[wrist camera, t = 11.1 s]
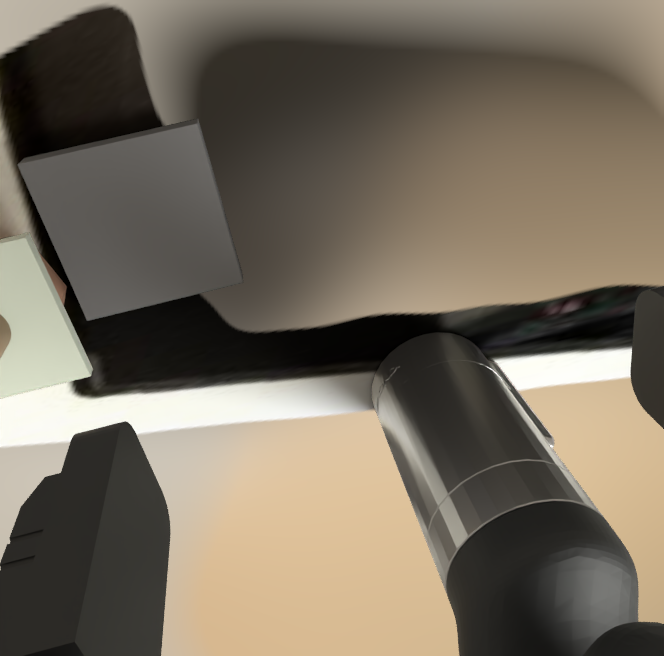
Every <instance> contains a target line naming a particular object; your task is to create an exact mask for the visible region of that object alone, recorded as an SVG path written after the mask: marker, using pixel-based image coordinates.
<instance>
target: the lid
mask: <svg viewBox="0 0 664 656" xmlns="http://www.w3.org/2000/svg"><path fill="white" fill-rule="evenodd" d="M92 370H93V368H92V366H91V364H90V362H89V360H88V357H87V355H86V353H85V351H84V349H83V347H82V345H81V342H80V340H79V338H78V336H77V334H76V332H75V330H74V327H73V325H72V323H71V321H70V319H69V317H68V314H67V312H66V310H65V308H64V306H63V304H62V302H61V299H60V297H59V295H58V293H57V291H56V289H55V287H54V284H53V282H52V280H51V278H50V276H49V274H48V272H47V269H46V267H45V265H44V263H43V261H42V259H41V256H40V254H39V252H38V250H37V248H36V246H35V244H34V241H33V239H32V237H31V235H30V233H25V234H20V235H16V236H12V237H8V238H4V239H0V399H1V398H5V397H9V396H13V395H17V394H21V393H25V392H29V391H33V390H37V389H41V388H45V387H49V386H53V385H57V384H61V383H65V382H69V381H73V380H77V379H81V378H85V377H89V376H91V374H92Z"/></svg>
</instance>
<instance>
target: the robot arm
mask: <svg viewBox="0 0 664 656" xmlns="http://www.w3.org/2000/svg"><path fill="white" fill-rule="evenodd" d="M631 381H632V386H633V390H634V392H635V395H636V397H637V399H638V401H639V403H640V404H641V406H642V407H643V408H644V409H645V411H646V412H647V413H648V414H649V415H650V416H651V417H652V418H653V419H654V420H655V421H656V422H657V423H658V424H659V425H660V426H661V427H663V429H664V286H662V287H658V288H654V289H650V290H646V291H643V292H642V293H641V294H640V295H639V296H638V298H637V301H636V306H635V318H634V332H633V346H632V360H631ZM372 400H373V405H374V408H375V410H376V413H377V415H378V418H379V420H380V423H381V426H382V428H383V431H384V433H385V436H386V439H387V442H388V444H389V447H390V449H391V452H392V454H393V457H394V460H395V462H396V465H397V467H398V470H399V473H400V475H401V478H402V480H403V483H404V486H405V488H406V491H407V493H408V496H409V498H410V501H411V503H412V506H413V509H414V511H415V514H416V516H417V519H418V521H419V524H420V527H421V529H422V532H423V534H424V537H425V539H426V542H427V544H428V547H429V550H430V552H431V555H432V557H433V560H434V562H435V565H436V567H437V570H438V572H439V575H440V578H441V580H442V583H443V585H444V588H445V591H446V593H447V596H448V599H449V601H450V604H451V606H452V609H453V612H454V615H455V618H456V624H457V632H458V644H459V655H460V656H664V624H661V623H655V622H638V578H637V573H636V569H635V566H634V563H633V560H632V558H631V556H630V554H629V552H628V551H627V549H626V547H625V546H624V544H623V543H622V541H621V540H620V539H619V537H618V536H617V535H616V533H615V532H614V530H613V529H612V528H611V526H610V525H609V524H608V522H607V521H606V520H605V518H604V517H603V516H602V514H601V513H600V512H599V510H598V509H597V508H596V506H595V505H594V503H593V502H592V501H591V499H590V498H589V497H588V495H587V494H586V493H585V491H584V490H583V489H582V487H581V486H580V485H579V483H578V482H577V481H576V480H575V478H574V477H573V475H572V474H571V473H570V472H569V470H568V469H567V467H566V466H565V465H564V463H563V462H562V461H561V459H560V458H559V457H558V455H557V454H556V452H555V451H554V450H553V447H554V439H553V437H552V435H551V434H550V432H549V431H548V430H547V428H546V427H545V426H544V425H543V423H542V422H541V421H540V420H539V418H538V417H537V415H536V414H535V413H534V411H533V410H532V409H531V407H530V406H529V405H528V404H527V402H526V401H525V399H524V398H523V397H522V396H521V394H520V393H519V392H518V390H517V389H516V388H515V386H514V385H513V384H512V382H511V381H510V380H509V378H508V377H507V376H506V374H505V373H504V372H503V370H502V369H501V368H500V366H499V365H498V364H497V363H496V362H492V361H489V360H487V359H486V357H485V356H484V355H483V353H482V352H481V351H480V349H479V348H478V347H477V346H476V345H475V344H474V343H472V342H471V341H470V340H468V339H466V338H464V337H462V336H460V335H456V334H452V333H439V332H436V333H430V334H424V335H421V336H418V337H415V338H412V339H410V340H408V341H406V342H405V343H403V344H401V345H399V346H398V347H397V348H396V349H394V350H393V351H392V352H391V353H389V355H388V356H387V357H386V358H385V359H384V360H383V362H382V363H381V365H380V366H379V368H378V370H377V372H376V373H375V377H374V380H373V383H372ZM10 541H11V542H10V544H7V547H6V549H5V552H4V554H3V557H2V560H1V563H0V566H1V570H0V656H161V648H162V635H163V622H164V609H165V596H166V583H167V571H168V558H169V544H170V520H169V514H168V509H167V504H166V501H165V498H164V495H163V493H162V490H161V488H160V486H159V484H158V481H157V479H156V477H155V475H154V473H153V470H152V468H151V466H150V464H149V462H148V459H147V458H146V455H145V453H144V451H143V448H142V446H141V444H140V442H139V440H138V438H137V435H136V433H135V431H134V429H133V428H132V426H131V425H130V424H129V423H128V422H121V423H117V424H113V425H109V426H105V427H102V428H98V429H94V430H90V431H86V432H82V433H78V434H75V435H74V436H73V438H72V440H71V442H70V446H69V449H68V452H67V455H66V458H65V462H64V465H63V468H62V471H61V473H59V474H55V475H51V476H47V477H45V478H44V479H43V480H42V482H41V483H40V484H39V485H38V486H37V488H36V489H35V490H34V491H33V493H32V494H31V495H30V496H29V498H28V499H27V500H26V501H25V503H24V504H23V505H22V506H21V508H20V511H19V514H18V517H17V519H16V522H15V525H14V527H13V530H12V533H11V535H10Z"/></svg>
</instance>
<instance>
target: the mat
mask: <svg viewBox="0 0 664 656" xmlns="http://www.w3.org/2000/svg"><path fill="white" fill-rule="evenodd" d="M17 165H18V167H19V169H20V172H21V174H22V176H23V178H24V181H25V183H26V185H27V187H28V190H29V192H30V194H31V196H32V198H33V201H34V203H35V205H36V207H37V210H38V212H39V214H40V216H41V219H42V221H43V223H44V225H45V227H46V230H47V232H48V234H49V236H50V239H51V241H52V243H53V245H54V248H55V250H56V252H57V254H58V256H59V259H60V261H61V263H62V265H63V268H64V270H65V272H66V274H67V277H68V279H69V281H70V283H71V286H72V288H73V290H74V292H75V294H76V297H77V299H78V301H79V303H80V306H81V308H82V310H83V312H84V315H85V317H86V319H87V321H89V320H93V319H97V318H101V317H105V316H109V315H113V314H117V313H121V312H126V311H130V310H134V309H138V308H142V307H146V306H150V305H154V304H158V303H162V302H167V301H171V300H175V299H179V298H183V297H187V296H191V295H195V294H199V293H203V292H208V291H212V290H215V289H220V288H224V287H228V286H232V285H236V284H240V283H243V275H242V270H241V267H240V264H239V260H238V257H237V253H236V249H235V246H234V243H233V239H232V236H231V232H230V228H229V225H228V222H227V218H226V215H225V211H224V208H223V204H222V201H221V197H220V194H219V190H218V187H217V183H216V180H215V176H214V173H213V169H212V166H211V163H210V159H209V155H208V152H207V148H206V145H205V142H204V138H203V134H202V131H201V128H200V124H199V120H198V119H193V120H190V121H185V122H180V123H176V124H171V125H167V126H163V127H158V128H154V129H149V130H145V131H141V132H136V133H132V134H128V135H123V136H119V137H114V138H110V139H106V140H101V141H97V142H92V143H88V144H84V145H79V146H75V147H70V148H66V149H62V150H57V151H53V152H48V153H44V154H40V155H35V156H31V157H27V158H24V159H23V160H22V161H21V162H20V163H18V164H17Z"/></svg>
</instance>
